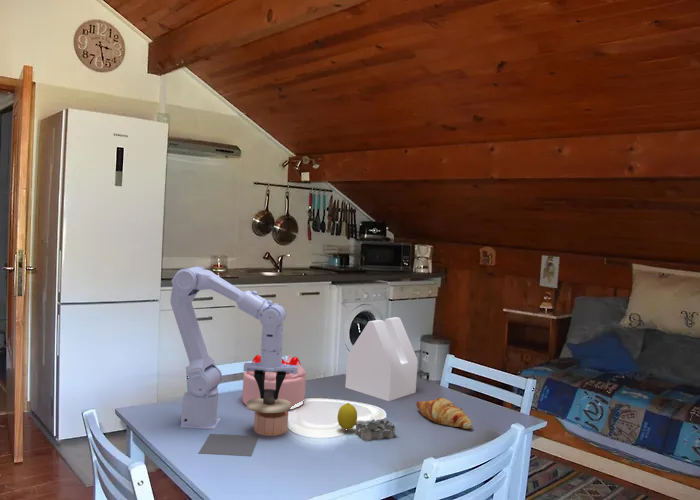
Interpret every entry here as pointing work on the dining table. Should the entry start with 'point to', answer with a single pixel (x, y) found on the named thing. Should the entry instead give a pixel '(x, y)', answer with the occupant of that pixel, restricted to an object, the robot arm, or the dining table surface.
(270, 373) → the cake
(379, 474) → the dining table surface
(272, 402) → the lid
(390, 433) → the egg carton
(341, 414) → the lemon
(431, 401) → the croissant
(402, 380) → the white house-shaped block
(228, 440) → the mat
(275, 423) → the bucket
